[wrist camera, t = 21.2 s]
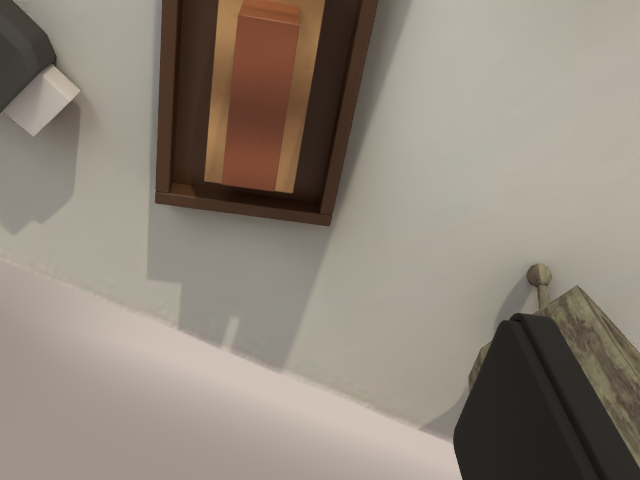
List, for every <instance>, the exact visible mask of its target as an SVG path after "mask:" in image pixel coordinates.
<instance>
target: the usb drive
mask: <svg viewBox="0 0 640 480" xmlns="http://www.w3.org/2000/svg"><path fill="white" fill-rule="evenodd" d="M55 60H56V55H55V53H54V50H53V48H52V46H51V44H50V41H49V39H48V37H47V35H46V33H45V32H44V31H43V30H42V29H41V28H40V27H39V26H38V25H37V24H36V23H35V22H34V21H33V20H32V19H31V18H30V17H29V16H28V15H27V14H26V13H25V12H24V11H23V10H22V9H21V8H19V7H18V6H17V5H16V4H15V3H14V2H13V1H12V0H0V113H1V112H2V111H3V112H4V113H5V114H7V115H8V116H9V117H10V118H11V119H12V120H14V121H15V122H16V123H17V124H18V125H19V126H21V127H22V128H23V129H24V130H25V131H26V132H27V133H29V134H30V135H31V136H32V137H34V136H35V135H36V134H37V133H38V132H39V131H40V130H41V129H42V128H43V127H44V126H45V125H46V124H47V123H48V122H49V121H51V120H52V119H53V118H54V117H55V116H56V115H57V114H58V113H59V112H60V111H61V110H62V109H63V108H64V107H65V106H66V105H67V104H68V103H69V102H70V101H71V100H72V99H73V98H74V97H75V96H76V95H77V94H78V93H79V92H80V90H79V89H78V88H77V87H76V86H75V85H74V84H73V83H72V82H71V81H70V80H69V79H68V78H67V77H65V76H64V75H63V74H62V73H61V72H60V71H59V70H58V69H57V68H56V67H55V66H54V65H53V64H52V63H53V62H54V61H55Z"/></svg>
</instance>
